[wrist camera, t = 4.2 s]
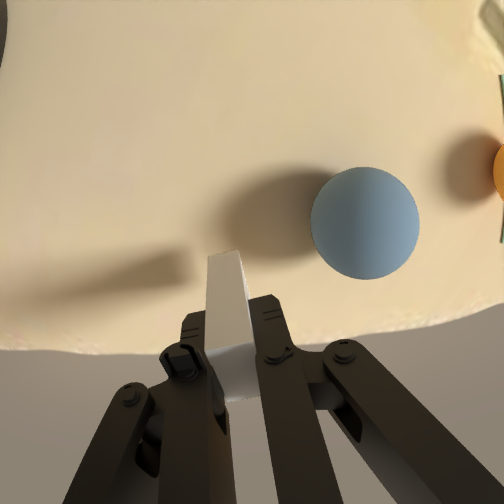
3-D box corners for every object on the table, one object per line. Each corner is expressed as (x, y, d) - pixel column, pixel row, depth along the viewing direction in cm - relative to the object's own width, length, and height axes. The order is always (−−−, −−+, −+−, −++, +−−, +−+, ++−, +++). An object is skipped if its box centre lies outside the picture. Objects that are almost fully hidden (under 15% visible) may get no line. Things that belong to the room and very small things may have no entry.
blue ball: (282, 181, 16) (313, 218, 11) (371, 143, 15) (431, 164, 10) (316, 263, 18) (350, 320, 13) (393, 226, 18) (445, 269, 13)
